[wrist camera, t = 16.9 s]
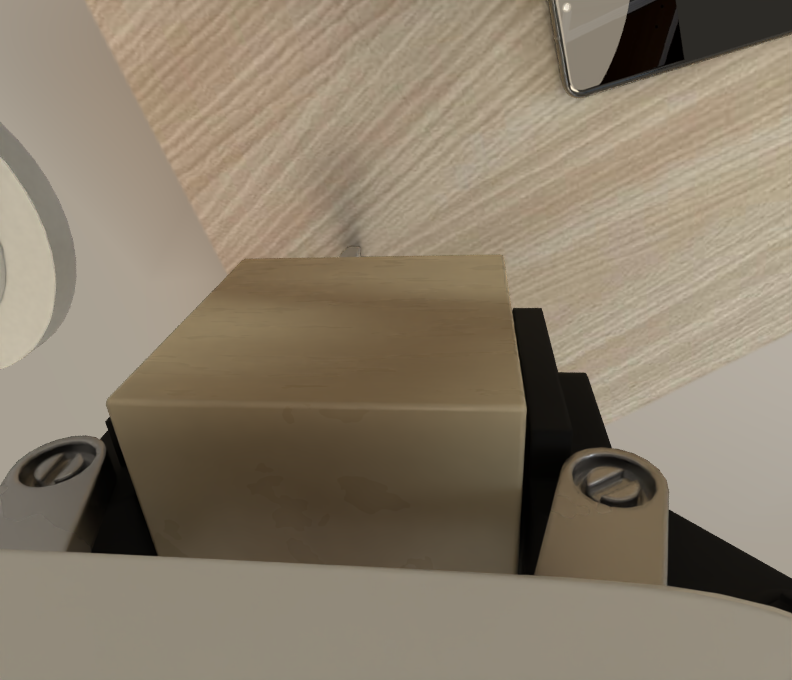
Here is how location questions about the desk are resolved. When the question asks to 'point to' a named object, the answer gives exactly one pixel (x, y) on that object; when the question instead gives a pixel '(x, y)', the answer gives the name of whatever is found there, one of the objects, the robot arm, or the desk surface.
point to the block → (336, 417)
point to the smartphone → (654, 36)
